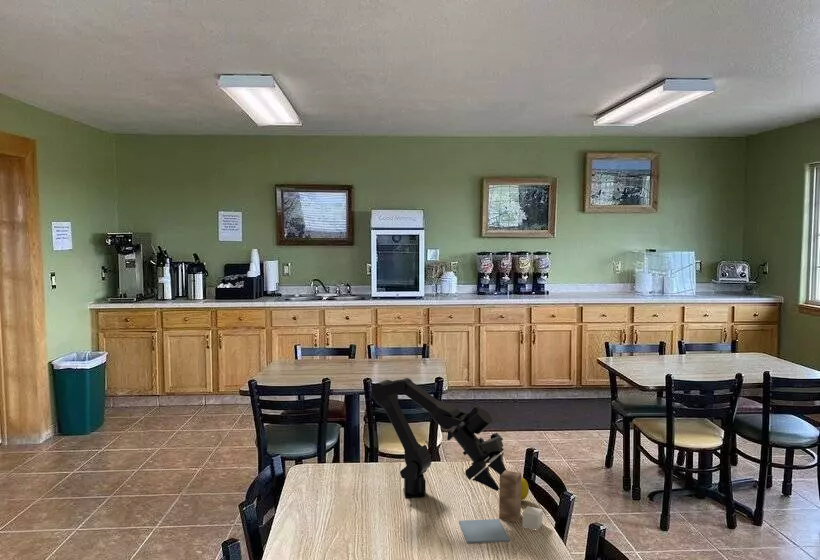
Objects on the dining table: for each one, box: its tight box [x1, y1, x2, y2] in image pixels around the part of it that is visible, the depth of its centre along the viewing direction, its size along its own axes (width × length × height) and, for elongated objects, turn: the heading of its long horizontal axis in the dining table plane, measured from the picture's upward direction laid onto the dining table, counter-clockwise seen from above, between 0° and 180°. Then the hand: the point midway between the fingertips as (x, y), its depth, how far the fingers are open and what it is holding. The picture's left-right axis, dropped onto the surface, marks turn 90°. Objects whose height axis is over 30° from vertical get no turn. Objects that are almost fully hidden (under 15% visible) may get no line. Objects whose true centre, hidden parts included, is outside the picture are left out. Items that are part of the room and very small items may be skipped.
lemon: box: [521, 476, 530, 501], centre depth 183 cm, size 6×6×8 cm
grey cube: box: [522, 505, 543, 531], centre depth 167 cm, size 4×4×4 cm
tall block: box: [498, 469, 522, 523], centre depth 173 cm, size 5×5×13 cm
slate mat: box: [458, 518, 511, 544], centre depth 164 cm, size 12×12×1 cm
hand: (503, 484), depth 173 cm, fingers open, 9 cm apart
